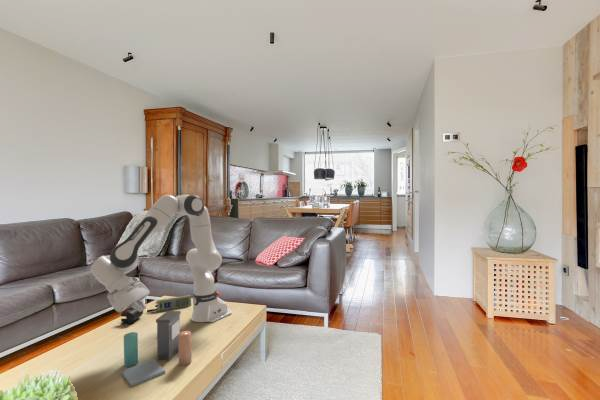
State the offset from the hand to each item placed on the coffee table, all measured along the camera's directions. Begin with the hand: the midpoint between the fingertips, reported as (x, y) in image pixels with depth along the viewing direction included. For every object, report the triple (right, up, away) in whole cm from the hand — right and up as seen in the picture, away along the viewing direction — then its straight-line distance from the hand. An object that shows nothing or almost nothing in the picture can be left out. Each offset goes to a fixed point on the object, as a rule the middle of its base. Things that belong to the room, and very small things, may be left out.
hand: (143, 309), depth 135 cm
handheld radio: (-12, -19, +55) cm, 59 cm away
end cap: (-25, -20, +37) cm, 48 cm away
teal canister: (-1, -19, -8) cm, 21 cm away
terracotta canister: (+21, -19, -7) cm, 29 cm away
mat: (+7, -19, -15) cm, 26 cm away
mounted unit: (+12, -19, -1) cm, 23 cm away
